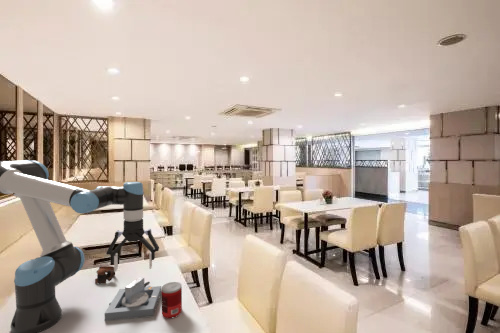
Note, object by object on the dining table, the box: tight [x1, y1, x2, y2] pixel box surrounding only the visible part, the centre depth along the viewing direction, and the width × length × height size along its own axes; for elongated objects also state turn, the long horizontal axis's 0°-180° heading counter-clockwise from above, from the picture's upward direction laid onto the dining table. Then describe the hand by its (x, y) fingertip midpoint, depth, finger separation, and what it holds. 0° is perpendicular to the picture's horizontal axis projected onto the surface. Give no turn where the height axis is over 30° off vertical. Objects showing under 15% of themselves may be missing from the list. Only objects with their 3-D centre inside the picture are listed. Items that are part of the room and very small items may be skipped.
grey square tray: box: [104, 285, 162, 322], centre depth 112 cm, size 18×18×3 cm
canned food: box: [160, 281, 183, 319], centre depth 107 cm, size 8×8×11 cm
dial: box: [122, 276, 149, 308], centre depth 112 cm, size 10×10×9 cm
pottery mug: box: [94, 265, 116, 285], centre depth 135 cm, size 12×10×8 cm
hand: (133, 268), depth 111 cm, fingers open, 13 cm apart
